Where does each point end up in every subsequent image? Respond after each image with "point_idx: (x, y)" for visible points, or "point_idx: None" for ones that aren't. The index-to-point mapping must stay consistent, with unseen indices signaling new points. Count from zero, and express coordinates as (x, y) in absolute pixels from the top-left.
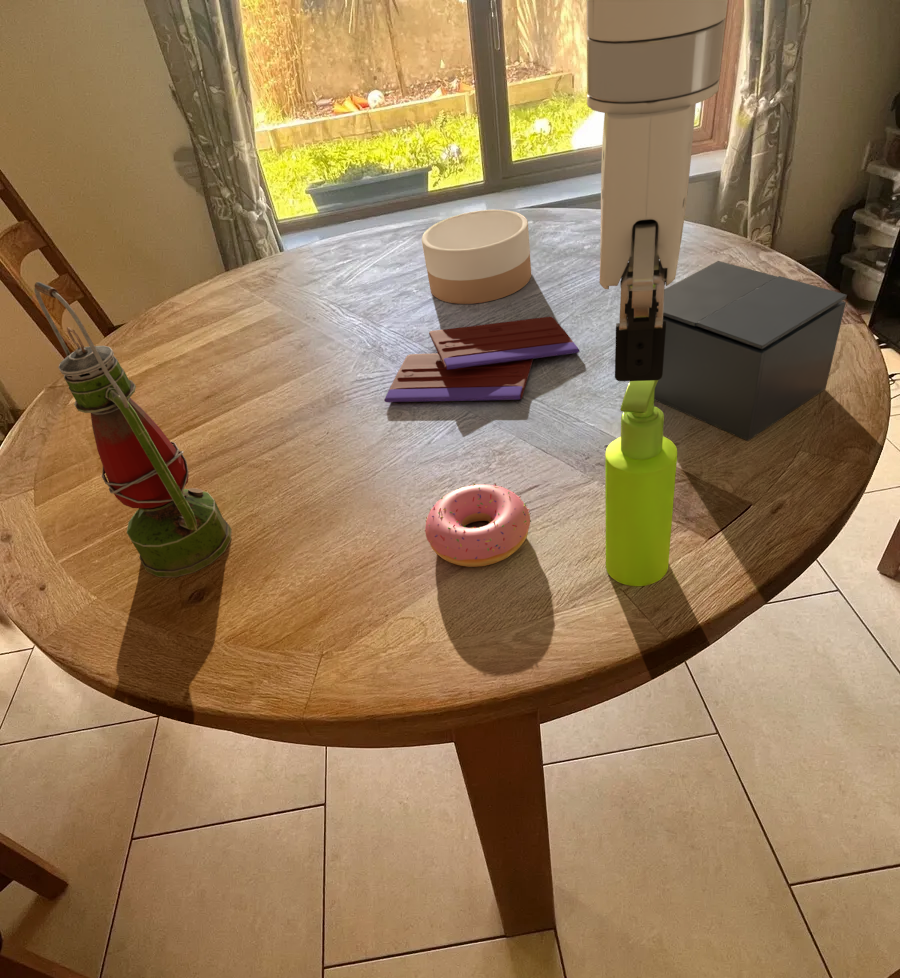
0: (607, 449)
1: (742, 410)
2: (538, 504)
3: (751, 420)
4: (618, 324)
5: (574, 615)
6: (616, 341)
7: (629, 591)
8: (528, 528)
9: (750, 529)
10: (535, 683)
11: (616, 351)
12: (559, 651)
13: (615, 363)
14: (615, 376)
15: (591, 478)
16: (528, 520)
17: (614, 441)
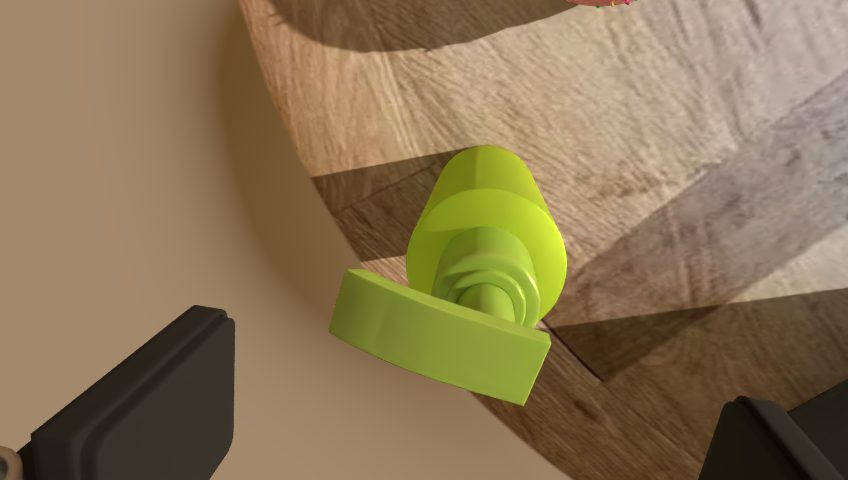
0: (508, 195)
1: (829, 442)
2: (691, 25)
3: None
4: (56, 450)
5: (381, 86)
6: (87, 389)
7: (427, 176)
8: (574, 2)
9: (544, 366)
10: (247, 20)
11: (129, 362)
12: (308, 59)
13: (161, 332)
14: (192, 308)
15: (749, 139)
16: (592, 1)
17: (537, 214)
